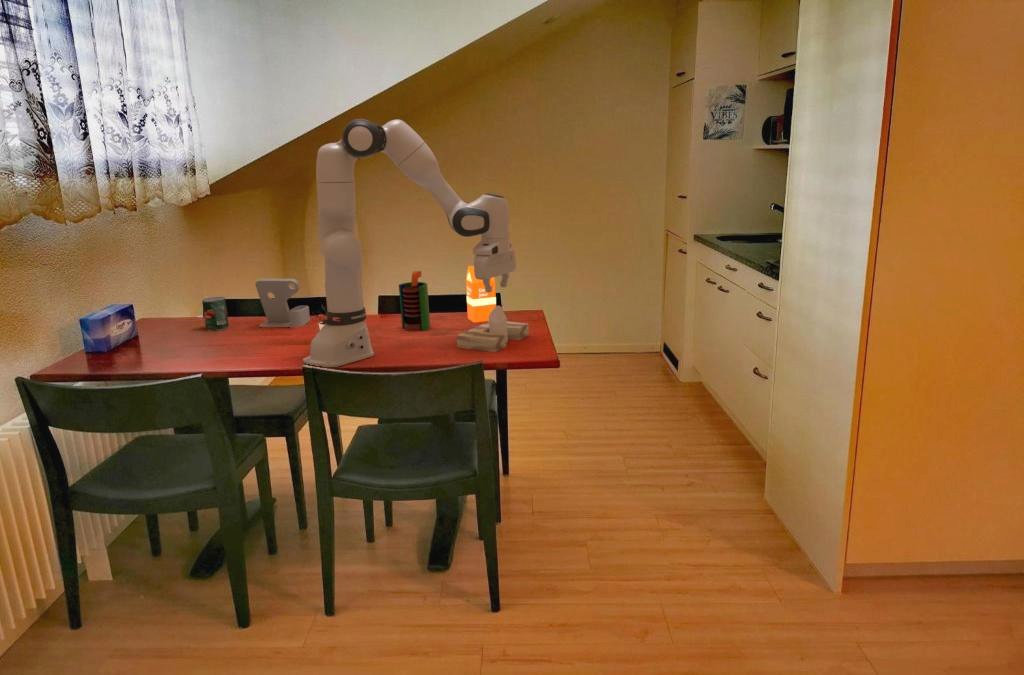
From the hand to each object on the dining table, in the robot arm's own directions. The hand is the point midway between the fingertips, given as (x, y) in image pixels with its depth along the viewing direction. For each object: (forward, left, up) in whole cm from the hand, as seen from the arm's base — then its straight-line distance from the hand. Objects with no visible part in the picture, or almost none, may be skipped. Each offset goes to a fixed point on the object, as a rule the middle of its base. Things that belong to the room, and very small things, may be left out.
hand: (496, 289), depth 233 cm
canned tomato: (-24, +106, -18) cm, 110 cm away
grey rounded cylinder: (0, 0, -18) cm, 18 cm away
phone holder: (-10, +86, -18) cm, 88 cm away
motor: (+5, +37, -18) cm, 41 cm away
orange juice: (+25, +22, -18) cm, 38 cm away
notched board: (0, +2, -17) cm, 17 cm away
